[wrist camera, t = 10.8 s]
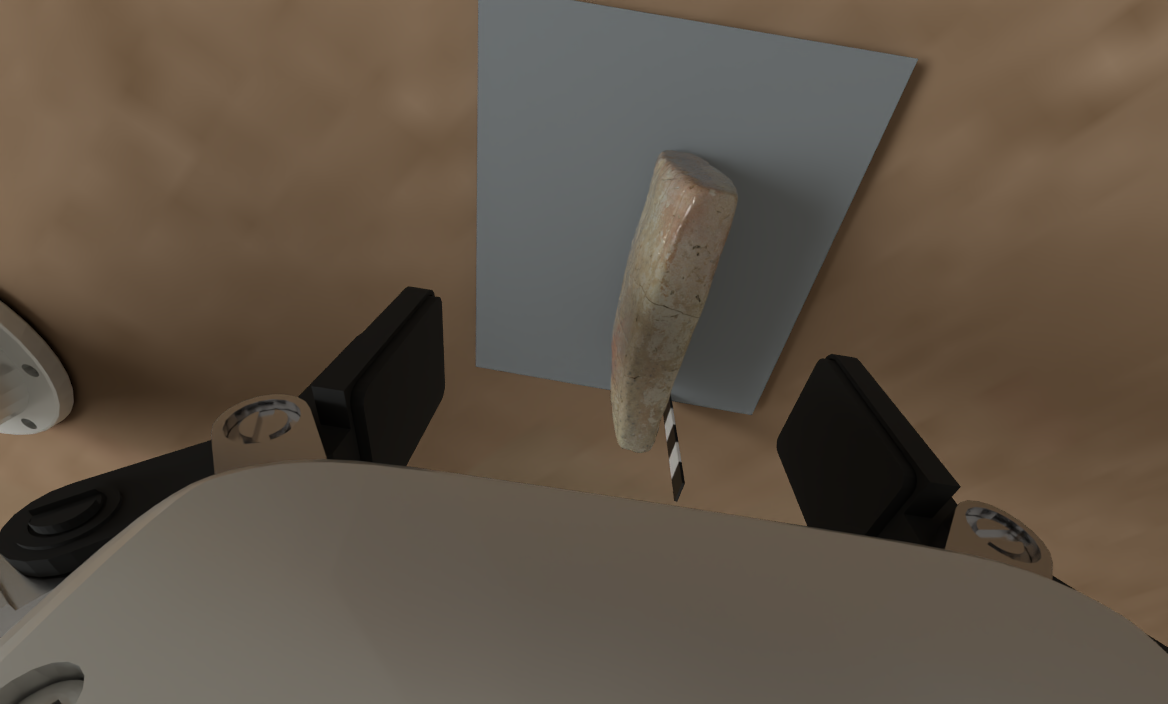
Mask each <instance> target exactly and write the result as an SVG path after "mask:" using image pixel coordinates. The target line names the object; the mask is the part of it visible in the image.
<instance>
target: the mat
mask: <svg viewBox="0 0 1168 704" xmlns="http://www.w3.org/2000/svg"><path fill="white" fill-rule="evenodd" d="M917 60H918V59H916V58H910V57H904V56H898V55H893V54H887V53H881V52H875V51H869V50H863V49H857V48H851V47H845V46H839V45H833V44H828V43H822V42H816V41H810V40H804V39H798V38H792V37H786V36H780V35H774V34H768V33H763V32H757V31H751V30H745V29H739V28H733V27H727V26H721V25H715V24H709V23H703V22H698V21H692V20H686V19H680V18H674V17H668V16H662V15H656V14H650V13H644V12H638V11H633V10H627V9H621V8H615V7H609V6H603V5H597V4H591V3H585V2H579V1H573V0H478V127H477V267H476V367H481V368H487V369H493V370H498V371H504V372H510V373H516V374H521V375H527V376H533V377H538V378H544V379H550V380H555V381H561V382H567V383H572V384H578V385H584V386H589V387H595V388H601V389H606V390H610V384H611V361H612V352H611V337H612V331H613V325H614V320H615V315H616V310H617V305H618V299H619V295H620V291H621V285H622V280H623V276H624V272H625V268H626V264H627V259H628V255H629V251H630V247H631V243H632V240H633V237H634V234H635V231H636V227H637V224H638V222H639V219H640V216H641V213H642V210H643V208H644V205H645V201H646V198H647V195H648V191H649V185H650V181H651V178H652V175H653V171H654V167H655V163H656V160H657V157H658V156H659V154H660V153H661V152H662V151H665V150H668V151H669V150H674V151H679V152H687V153H692V154H695V155H697V156H699V157H701V158H703V159H704V160H706V161H707V162H708V163H709V164H710V166H712V167H714V168H716V169H718V170H719V171H721V172H722V173H724V174H725V175H726V176H728V178H729V179H730V180H731V181H732V182H733V184H734V186H735V187H736V190H737V194H738V202H737V207H736V211H735V214H734V217H733V221H732V225H731V229H730V231H729V234H728V237H727V240H726V242H725V245H724V248H723V251H722V254H721V256H720V259H719V262H718V266H717V269H716V272H715V275H714V277H713V280H712V284H711V287H710V290H709V294H708V297H707V300H706V303H705V305H704V308H703V311H702V313H701V316H700V318H699V320H698V323H697V325H696V327H695V329H694V332H693V334H692V337H691V341H690V343H689V346H688V348H687V351H686V353H685V356H684V358H683V361H682V364H681V367H680V369H679V372H678V374H677V376H676V379H675V381H674V385H673V387H672V390H671V399H672V401H675V402H680V403H686V404H692V405H697V406H703V407H709V408H714V409H720V410H726V411H731V412H737V413H743V414H748V415H752V413H753V411H754V409H755V407H756V405H757V403H758V401H759V398H760V396H761V394H762V392H763V390H764V388H765V386H766V384H767V381H768V379H769V377H770V375H771V373H772V371H773V369H774V366H775V364H776V362H777V360H778V358H779V356H780V354H781V351H782V349H783V347H784V345H785V343H786V341H787V339H788V336H789V334H790V332H791V330H792V328H793V326H794V324H795V321H796V319H797V317H798V315H799V313H800V311H801V309H802V306H803V304H804V302H805V300H806V298H807V296H808V294H809V292H810V289H811V287H812V285H813V283H814V281H815V279H816V277H817V274H818V272H819V270H820V268H821V266H822V264H823V262H824V259H825V257H826V255H827V253H828V251H829V249H830V247H831V244H832V242H833V240H834V238H835V236H836V234H837V232H838V229H839V227H840V225H841V223H842V221H843V219H844V217H845V214H846V212H847V210H848V208H849V206H850V204H851V202H852V200H853V197H854V195H855V193H856V191H857V189H858V187H859V185H860V182H861V180H862V178H863V176H864V174H865V172H866V170H867V167H868V165H869V163H870V161H871V159H872V157H873V155H874V152H875V150H876V148H877V146H878V144H879V142H880V140H881V137H882V135H883V133H884V131H885V129H886V127H887V125H888V122H889V120H890V118H891V116H892V114H893V112H894V110H895V108H896V105H897V103H898V101H899V99H900V97H901V95H902V93H903V90H904V88H905V86H906V84H907V82H908V80H909V78H910V75H911V73H912V71H913V69H914V67H915V65H916V63H917Z"/></svg>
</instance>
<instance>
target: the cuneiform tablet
mask: <svg viewBox="0 0 1168 704" xmlns="http://www.w3.org/2000/svg"><path fill="white" fill-rule="evenodd" d="M737 202H738V194H737V190H736V187H735V186H734V184H733V182H732V181H731V180H730V179H729V178H728V176H726V175H725V174H724V173H722V172H721V171H719V170H718V169H716V168H714V167H712V166H710V164H709V163H708V162H707V161H706V160H704V159H703V158H701V157H699V156H697V155H695V154H692V153H687V152H679V151H674V150H669V151H668V150H665V151H662V152H661V153H660V154H659V156H658V157H657V160H656V163H655V167H654V171H653V175H652V178H651V181H650V185H649V191H648V195H647V198H646V201H645V205H644V208H643V210H642V213H641V216H640V219H639V222H638V224H637V227H636V231H635V234H634V237H633V240H632V243H631V247H630V251H629V255H628V259H627V264H626V268H625V272H624V276H623V280H622V285H621V291H620V295H619V299H618V305H617V310H616V315H615V320H614V325H613V331H612V337H611V352H612V361H611V384H610V399H611V405H612V416H613V422H614V429H615V434H616V439H617V442H618V444H619V445H620V447H621V448H622V449H628V450H632V451H634V452H637V453H643V452H647V451H649V450H650V449H651V447H652V446H653V444H654V442H655V438H656V436H657V433H658V429H659V424H660V421H661V417H662V415H663V416H664V424H665V432H666V440H667V447H668V455H669V463H670V471H671V478H672V486H673V494H674V501H678V498H679V496H680V494H681V491H682V489H683V487H684V484H685V481H684V475H683V469H682V462H681V456H680V450H679V443H678V437H677V431H676V424H675V418H674V412H673V405H672V399H671V390H672V387H673V385H674V381H675V379H676V376H677V374H678V372H679V369H680V367H681V364H682V361H683V358H684V356H685V353H686V351H687V348H688V346H689V343H690V341H691V337H692V334H693V332H694V329H695V327H696V325H697V323H698V320H699V318H700V316H701V313H702V311H703V308H704V305H705V303H706V300H707V297H708V294H709V290H710V287H711V284H712V280H713V277H714V275H715V272H716V269H717V266H718V262H719V259H720V256H721V254H722V251H723V248H724V245H725V242H726V240H727V237H728V234H729V231H730V229H731V225H732V221H733V217H734V214H735V211H736V207H737Z"/></svg>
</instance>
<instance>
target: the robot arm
mask: <svg viewBox="0 0 1168 704" xmlns="http://www.w3.org/2000/svg"><path fill="white" fill-rule="evenodd" d="M444 389H445V374H444V347H443V320H442V301H441V298H440V297H435V295H434V292H433V291H432V290H428V289H421V288H415V287H407V288H405V289H404V290H403V291H402V292H401V293H400V295H399V296H398V297H397V298H396V299H395V300H394V301H393V302H392V303H391V304H390V305H389V306H388V307H387V308H386V309H385V310H384V311H383V312H382V313H381V314H380V315H379V316H378V317H377V318H376V319H375V320H374V321H373V323H372V324H371V325H370V326H369V327H368V328H367V329H366V330H365V331H364V332H363V333H361V334H360V335H358V336H357V337H356V338H355V339H354V340H353V341H352V342H351V343H350V344H349V345H348V346H347V347H346V348H345V349H344V350H343V351H342V352H341V353H340V354H339V355H338V357H337V358H336V359H335V360H334V361H333V362H332V363H331V364H330V365H329V366H328V367H327V368H326V369H325V370H324V371H323V372H322V373H321V374H320V375H319V376H318V377H317V378H316V379H315V380H314V381H313V382H312V383H311V384H310V385H309V386H308V387H307V388H306V389H305V390H304V391H303V393H302V394H301V395H300V396H299V397H296V396H291V395H287V394H270V395H264V396H258V397H255V398H252V399H248V400H245V401H243V402H241V403H239V404H237V405H235V406H233V407H231V408H229V409H228V410H227V411H225V412H224V413H223V414H221V415H220V416H219V417H218V419H217V420H216V421H215V423H214V424H213V427H212V432H211V439H212V440H210V441H207V442H204V443H200V444H197V445H194V446H191V447H188V448H184V449H181V450H178V451H175V452H172V453H168V454H165V455H162V456H159V457H155V458H152V459H149V460H146V461H143V462H139V463H136V464H133V465H130V466H127V467H123V468H120V469H117V470H114V471H111V472H107V473H104V474H101V475H98V476H95V477H91V478H88V479H85V480H82V481H79V482H75V483H72V484H69V485H67V486H64V487H62V488H59V489H56V490H54V491H51V492H49V493H47V494H46V495H44V496H42V497H40V498H38V499H36V500H34V501H33V502H31V503H30V504H28V505H27V506H25V507H24V508H23V509H21V510H20V511H19V512H17V513H16V514H15V515H14V516H13V517H12V518H11V519H10V520H9V521H8V522H7V523H6V524H5V525H4V527H3V528H2V529H1V531H0V704H1168V647H1166V646H1165V645H1163V644H1162V643H1160V642H1158V641H1157V640H1155V639H1154V638H1152V637H1150V636H1149V635H1147V634H1145V633H1144V632H1143V631H1142V630H1141V629H1140V628H1138V627H1137V626H1136V625H1134V624H1133V623H1132V622H1131V621H1129V620H1128V619H1126V618H1125V617H1123V616H1122V615H1120V614H1119V613H1117V612H1115V611H1113V610H1112V609H1110V608H1108V607H1106V606H1105V605H1103V604H1101V603H1099V602H1098V601H1096V600H1094V599H1092V598H1090V597H1088V596H1086V595H1084V594H1082V593H1080V592H1078V591H1076V590H1075V589H1073V588H1072V587H1070V586H1068V585H1067V584H1065V583H1064V582H1062V581H1060V580H1059V579H1057V578H1056V577H1054V576H1052V573H1053V562H1052V558H1051V554H1050V552H1049V550H1048V549H1047V547H1046V546H1045V544H1044V543H1043V541H1042V540H1041V539H1040V538H1039V537H1038V536H1037V535H1036V534H1035V533H1034V532H1033V531H1032V530H1031V529H1029V528H1028V527H1027V526H1026V525H1024V524H1023V523H1022V522H1021V521H1019V520H1018V519H1016V518H1014V517H1013V516H1011V515H1010V514H1008V513H1006V512H1005V511H1003V510H1000V509H998V508H996V507H994V506H992V505H989V504H986V503H982V502H979V501H970V500H967V501H963V502H960V503H959V504H958V505H957V503H956V502H955V501H954V499H953V498H952V496H953V495H954V494H955V493H956V491H957V490H958V489H959V488H960V487H961V486H960V485H959V484H958V483H957V482H956V480H955V479H954V478H953V477H952V475H951V474H950V473H949V472H948V470H947V469H946V468H945V467H944V465H943V464H942V463H941V462H940V460H939V459H938V458H937V457H936V455H935V454H934V453H933V452H932V450H931V449H930V448H929V447H928V445H927V444H926V443H925V442H924V440H923V439H922V438H921V437H920V435H919V434H918V433H917V432H916V431H915V429H914V428H913V427H912V426H911V424H910V423H909V422H908V421H907V419H906V418H905V417H904V416H903V414H902V413H901V412H900V411H899V409H898V408H897V407H896V406H895V404H894V403H893V402H892V401H891V399H890V398H889V397H888V396H887V394H886V393H885V392H884V391H883V389H882V388H881V387H880V386H879V384H878V383H877V382H876V381H875V380H874V378H873V377H872V376H871V375H870V373H869V372H868V371H867V370H866V368H865V367H864V366H863V365H862V363H861V362H860V361H859V360H858V359H857V358H854V357H847V356H841V355H835V354H830V355H828V356H827V357H826V358H825V359H820V360H819V361H818V362H817V364H816V366H815V367H814V369H813V371H812V373H811V375H810V377H809V379H808V381H807V383H806V385H805V387H804V389H803V391H802V392H801V394H800V396H799V398H798V400H797V402H796V404H795V406H794V408H793V410H792V412H791V414H790V415H789V417H788V419H787V421H786V423H785V425H784V427H783V429H782V431H781V433H780V435H779V437H778V439H777V451H778V454H779V457H780V459H781V462H782V464H783V467H784V469H785V472H786V474H787V477H788V479H789V482H790V484H791V486H792V489H793V491H794V494H795V496H796V499H797V501H798V504H799V506H800V509H801V511H802V514H803V516H804V519H805V521H806V524H807V526H801V525H795V524H789V523H782V522H776V521H770V520H763V519H757V518H750V517H744V516H737V515H731V514H725V513H718V512H711V511H705V510H698V509H692V508H685V507H679V506H672V505H666V504H659V503H653V502H646V501H639V500H633V499H626V498H620V497H613V496H606V495H600V494H593V493H587V492H580V491H573V490H566V489H560V488H553V487H546V486H539V485H532V484H526V483H519V482H512V481H505V480H498V479H492V478H485V477H478V476H471V475H464V474H458V473H451V472H444V471H437V470H430V469H424V468H416V467H407V466H406V465H407V463H408V461H409V460H410V458H411V456H412V454H413V452H414V450H415V448H416V447H417V445H418V443H419V441H420V439H421V437H422V435H423V433H424V432H425V430H426V428H427V426H428V424H429V422H430V420H431V419H432V417H433V415H434V413H435V411H436V409H437V407H438V406H439V404H440V402H441V400H442V398H443V394H444ZM73 403H74V398H73V388H72V385H71V382H70V379H69V376H68V374H67V372H66V370H65V369H64V367H63V365H62V363H61V362H60V360H59V358H58V357H57V356H56V355H55V353H54V352H53V351H52V349H51V348H50V347H49V346H48V344H47V343H46V342H45V341H44V340H43V339H42V337H41V336H40V335H39V334H38V333H37V332H36V331H35V330H34V329H33V328H32V327H31V326H30V325H29V324H28V323H27V322H26V321H25V320H23V319H22V318H21V317H20V316H19V315H18V314H16V313H15V312H14V311H13V310H12V309H11V308H9V307H8V306H7V305H6V304H4V303H3V302H2V301H0V433H6V434H15V435H24V434H36V433H39V432H43V431H46V430H48V429H49V428H51V427H53V426H54V425H56V424H57V423H59V422H61V421H62V420H64V419H65V418H66V417H67V416H68V415H69V414H70V412H71V410H72V406H73Z"/></svg>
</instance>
